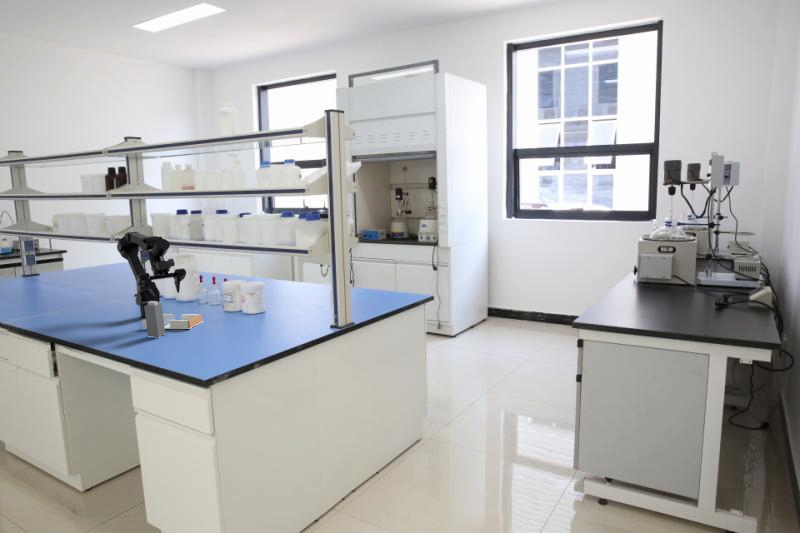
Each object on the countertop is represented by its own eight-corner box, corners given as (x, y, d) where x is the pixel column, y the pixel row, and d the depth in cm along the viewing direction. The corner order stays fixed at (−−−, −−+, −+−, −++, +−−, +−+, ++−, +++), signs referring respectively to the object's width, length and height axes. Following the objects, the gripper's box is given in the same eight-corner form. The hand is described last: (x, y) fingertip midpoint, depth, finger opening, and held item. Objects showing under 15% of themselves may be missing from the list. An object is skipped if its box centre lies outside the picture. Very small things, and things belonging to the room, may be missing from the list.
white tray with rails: (141, 329, 221) (139, 320, 221) (157, 321, 232) (156, 313, 231) (189, 330, 218) (188, 321, 217) (203, 322, 228) (202, 314, 227)
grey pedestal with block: (148, 338, 209) (143, 303, 206) (155, 334, 213) (150, 300, 211) (158, 338, 208) (154, 303, 206) (165, 334, 213) (161, 300, 210)
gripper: (136, 255, 214) (146, 288, 209) (184, 250, 226) (194, 281, 221) (132, 268, 222) (142, 301, 217) (178, 263, 234) (188, 294, 229)
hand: (167, 294), depth 221 cm, fingers open, 9 cm apart
